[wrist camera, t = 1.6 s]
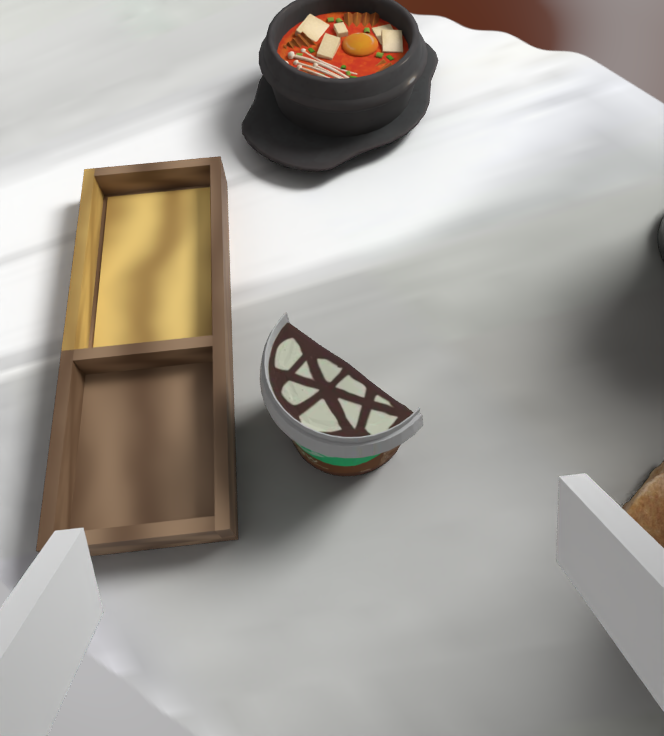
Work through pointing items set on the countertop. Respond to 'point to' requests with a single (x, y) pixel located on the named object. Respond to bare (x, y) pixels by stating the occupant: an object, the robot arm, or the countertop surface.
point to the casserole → (338, 82)
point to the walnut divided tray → (146, 365)
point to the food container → (330, 406)
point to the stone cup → (650, 505)
